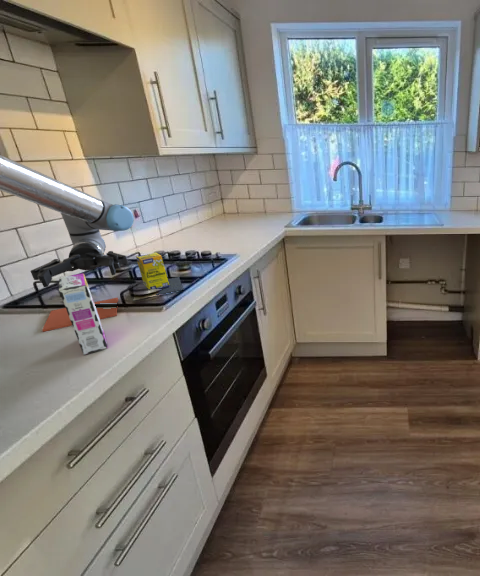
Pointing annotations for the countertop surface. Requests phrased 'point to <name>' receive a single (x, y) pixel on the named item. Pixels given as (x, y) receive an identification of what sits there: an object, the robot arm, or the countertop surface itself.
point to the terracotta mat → (62, 319)
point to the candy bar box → (82, 313)
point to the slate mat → (172, 286)
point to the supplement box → (153, 271)
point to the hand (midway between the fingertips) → (79, 275)
